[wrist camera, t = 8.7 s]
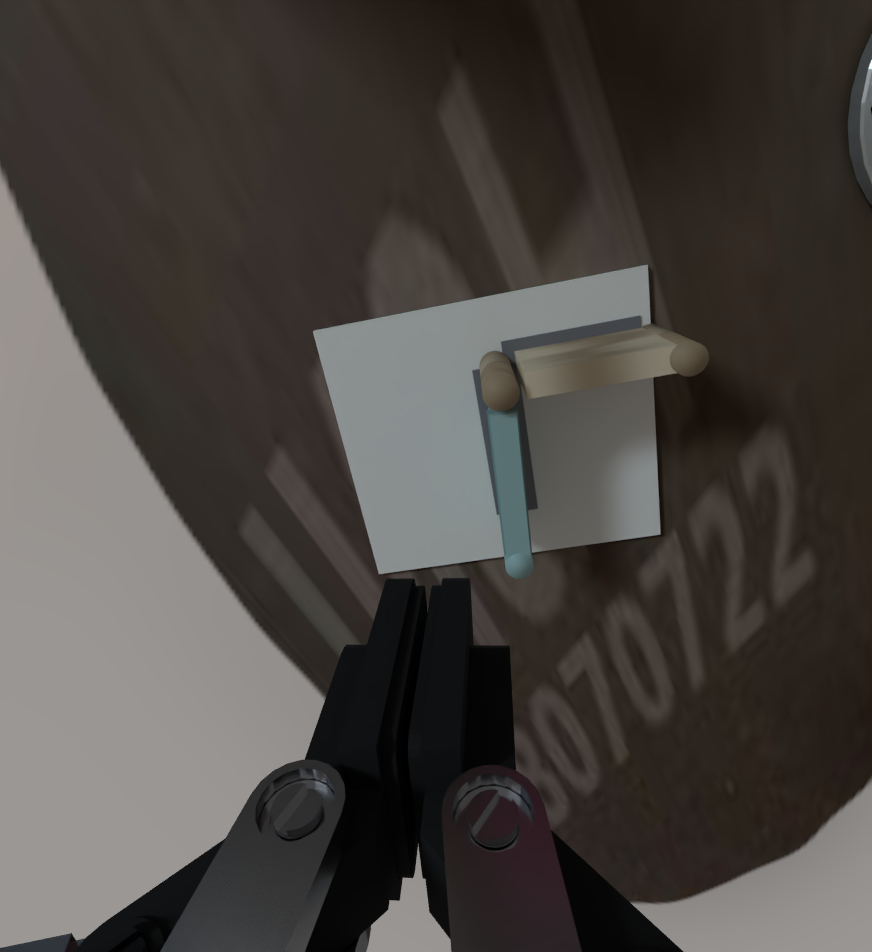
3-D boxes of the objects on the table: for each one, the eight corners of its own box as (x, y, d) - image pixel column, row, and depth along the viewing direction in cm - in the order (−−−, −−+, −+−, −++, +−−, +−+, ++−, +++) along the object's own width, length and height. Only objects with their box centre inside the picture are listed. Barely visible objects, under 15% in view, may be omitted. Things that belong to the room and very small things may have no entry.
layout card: (646, 264, 27) (648, 265, 27) (658, 531, 33) (661, 535, 32) (314, 330, 29) (312, 331, 29) (379, 571, 35) (378, 574, 34)
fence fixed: (660, 318, 28) (708, 337, 23) (662, 349, 29) (708, 375, 23) (477, 352, 29) (479, 378, 24) (481, 382, 30) (485, 414, 24)
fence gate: (484, 390, 29) (487, 417, 25) (510, 387, 29) (518, 412, 25) (501, 533, 32) (507, 579, 28) (525, 531, 32) (535, 577, 28)
